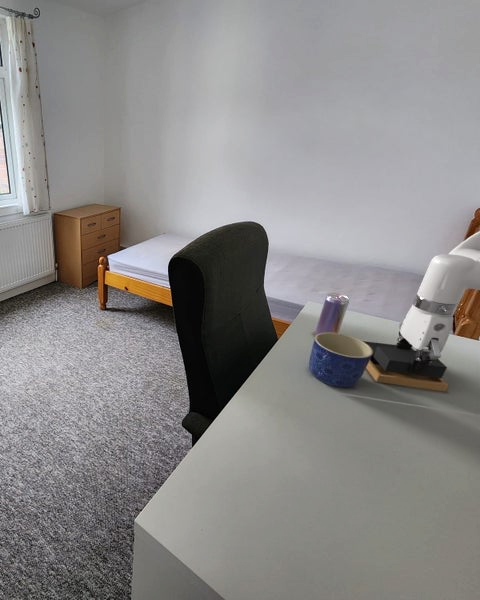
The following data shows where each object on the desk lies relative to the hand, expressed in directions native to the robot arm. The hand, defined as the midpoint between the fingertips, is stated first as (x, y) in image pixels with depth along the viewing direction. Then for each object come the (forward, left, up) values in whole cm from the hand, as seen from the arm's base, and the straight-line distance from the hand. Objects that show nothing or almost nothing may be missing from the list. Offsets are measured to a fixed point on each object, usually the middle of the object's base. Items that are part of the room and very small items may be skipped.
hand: (407, 363), depth 91 cm
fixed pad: (0, -8, -4) cm, 9 cm away
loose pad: (0, 0, -1) cm, 1 cm away
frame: (0, -4, -5) cm, 6 cm away
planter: (+18, +5, -5) cm, 20 cm away
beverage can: (+13, -18, -5) cm, 23 cm away
